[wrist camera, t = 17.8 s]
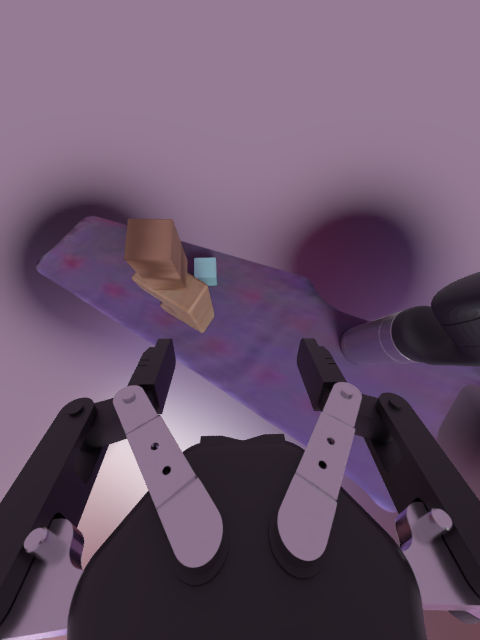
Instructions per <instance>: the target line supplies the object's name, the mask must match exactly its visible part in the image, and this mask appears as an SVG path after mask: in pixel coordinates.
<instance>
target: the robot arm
mask: <svg viewBox="0 0 480 640" xmlns="http://www.w3.org/2000/svg"><path fill="white" fill-rule="evenodd" d="M341 350H342V352H343V354H344V356H345V357H346V358H347V359H348V360H349V361H351V362H352V363H355V364H359V365H367V364H399V363H427V364H431V365H456V366H480V272H478V273H475V274H472V275H469V276H467V277H464V278H462V279H459V280H457V281H455V282H453V283H451V284H449V285H448V286H446V287H444V288H443V289H442V290H440V291H439V292H438V293H437V294H436V295H435V296H434V297H433V300H432V302H431V307H429V306H417V307H413V308H409V309H407V310H404V311H401V312H398V313H395V314H392V315H389V316H386V317H383V318H380V319H377V320H374V321H371V322H368V323H365V324H362V325H359V326H356V327H353V328H350V329H348V330H347V331H346V332H345V333H344V334H343V336H342V338H341ZM175 362H176V359H175V352H174V347H173V341H172V339H158V341H157V343H156V346H155V347H150V348H148V349H147V350H146V351H145V352H144V353H143V355H142V357H141V359H140V361H139V363H138V366H137V367H136V369H135V372H134V374H133V375H132V377H131V379H130V382H129V384H128V386H127V387H125V388H123V389H121V390H120V391H118V392H117V393H116V395H115V396H114V398H112V399H109V400H105V401H101V402H97V403H94V402H93V401H92V400H91V399H90V398H79V399H76V400H73V401H72V402H70V403H68V404H67V405H65V406H64V407H63V408H62V409H61V411H60V412H59V414H58V415H57V417H56V418H55V420H54V421H53V423H52V424H51V426H50V428H49V429H48V431H47V432H46V434H45V435H44V437H43V438H42V440H41V441H40V443H39V444H38V446H37V447H36V449H35V451H34V452H33V454H32V455H31V457H30V458H29V460H28V461H27V463H26V464H25V466H24V468H23V469H22V471H21V472H20V474H19V475H18V477H17V478H16V480H15V481H14V483H13V485H12V486H11V488H10V489H9V491H8V492H7V494H6V495H5V497H4V498H3V500H2V501H1V503H0V640H38V639H44V638H50V637H56V636H62V635H67V640H427V636H426V630H425V625H424V617H423V609H424V610H448V611H449V612H450V613H451V614H452V615H453V616H455V617H456V618H457V619H459V620H460V621H463V622H465V623H469V624H473V623H479V622H480V501H479V500H478V498H477V497H476V495H475V494H474V493H473V492H472V490H471V489H470V487H469V486H468V485H467V483H466V482H465V481H464V479H463V477H462V476H461V475H460V473H459V472H458V471H457V469H456V468H455V466H454V465H453V464H452V462H450V460H449V458H448V457H447V455H446V454H445V453H444V451H443V450H442V449H441V447H440V446H439V445H438V443H437V442H436V440H435V439H434V438H433V436H432V435H431V434H430V432H429V431H428V429H427V428H426V427H425V425H424V424H423V423H422V421H421V420H420V418H419V417H418V416H417V414H416V413H415V412H414V410H413V409H412V407H411V406H410V405H409V403H408V402H407V401H406V400H404V399H403V398H402V397H400V396H398V395H396V394H393V393H383V394H381V395H380V397H379V398H375V397H371V396H367V395H363V394H361V393H360V391H359V390H358V389H357V388H356V387H355V386H353V385H351V384H349V383H347V382H346V380H345V378H344V376H343V375H342V373H341V371H340V370H339V368H338V366H337V364H336V363H335V361H334V359H333V357H332V356H331V354H330V352H329V351H328V350H326V349H325V348H324V347H323V346H318V344H317V342H316V340H315V339H314V338H302V339H301V341H300V346H299V350H298V355H297V366H298V369H299V371H300V374H301V377H302V380H303V382H304V385H305V388H306V390H307V393H308V396H309V399H310V401H311V404H312V407H313V409H314V411H321V412H322V413H321V415H320V417H319V420H318V422H317V424H316V426H315V429H314V431H313V433H312V436H311V438H310V440H309V443H308V445H307V447H306V450H303V449H302V448H301V447H299V446H297V445H295V444H293V443H291V442H288V441H285V437H284V434H265V435H261V436H257V437H254V438H251V439H247V440H238V439H233V438H229V437H225V436H201V440H200V443H199V444H196V445H194V446H191V447H190V448H188V449H186V450H185V451H184V452H182V451H181V450H180V448H179V446H178V444H177V443H176V441H175V439H174V437H173V436H172V434H171V433H170V431H169V429H168V427H167V426H166V424H165V422H164V420H163V419H162V417H161V416H160V415H158V414H162V412H163V408H164V405H165V401H166V398H167V394H168V390H169V387H170V383H171V380H172V376H173V373H174V369H175ZM354 434H355V435H358V436H362V437H364V439H365V442H366V444H367V446H368V448H369V450H370V453H371V455H372V457H373V459H374V461H375V463H376V466H377V468H378V470H379V472H380V474H381V476H382V479H383V481H384V483H385V485H386V487H387V490H388V492H389V494H390V496H391V498H392V500H393V503H394V505H395V507H396V509H397V511H398V513H399V515H398V516H397V517H396V520H395V528H396V532H397V535H398V538H399V546H398V544H397V543H396V542H395V541H394V540H393V538H392V537H391V536H390V535H389V534H388V533H387V532H386V531H385V530H384V529H383V528H382V527H381V526H380V525H379V524H378V523H377V522H376V521H375V520H374V519H373V518H372V517H371V516H370V515H369V514H368V513H367V512H366V511H365V510H364V509H363V508H362V507H361V506H360V505H359V504H358V503H357V502H356V501H355V500H354V499H353V498H352V497H351V496H350V495H349V494H348V493H347V492H346V491H345V490H344V489H343V488H342V487H341V482H342V479H343V475H344V471H345V467H346V464H347V460H348V456H349V452H350V448H351V445H352V441H353V437H354ZM124 439H128V441H129V444H130V446H131V449H132V451H133V453H134V456H135V458H136V461H137V463H138V466H139V468H140V471H141V473H142V475H143V478H144V480H145V483H146V485H147V488H148V490H149V491H148V492H147V493H146V494H145V495H144V497H143V498H142V499H141V500H140V501H139V502H138V504H137V505H136V506H135V507H134V508H133V509H132V511H131V512H130V513H129V514H128V515H127V516H126V517H125V519H124V520H123V521H122V522H121V523H120V524H119V526H118V527H117V528H116V529H115V530H114V532H113V533H112V534H111V535H110V536H109V537H108V538H107V540H106V541H105V542H104V543H103V544H102V546H101V547H100V548H99V549H98V550H97V552H96V553H95V554H94V555H93V557H92V558H91V559H90V561H89V563H88V564H87V566H86V567H85V569H84V570H83V569H82V566H81V557H82V552H83V547H84V537H83V534H82V533H81V532H80V531H79V530H78V529H77V526H78V524H79V521H80V518H81V516H82V513H83V511H84V508H85V505H86V503H87V500H88V498H89V495H90V493H91V490H92V487H93V484H94V482H95V479H96V477H97V474H98V471H99V469H100V466H101V464H102V461H103V459H104V456H105V453H106V451H107V448H108V446H109V444H112V443H115V442H118V441H121V440H124Z"/></svg>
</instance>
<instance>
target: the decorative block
mask: <svg viewBox="0 0 480 640" xmlns="http://www.w3.org/2000/svg"><path fill="white" fill-rule="evenodd" d="M132 280H133V281H134V282H135V283H137V284H138V285H139V286H140V287H141V288H142V289H143V290H145V291H146V292H148V293H150V294H151V295H153V296H154V297H156V298H157V299H159V300H160V301H161V302H162V303H161V304H160V306H161V307H162V308H163V309H164V310H165V311H166V312H168V313H170V314H171V315H173V316H175V317H176V318H178V319H180V320H181V321H183V322H184V323H186V324H188V325H189V326H191V327H193V328H194V329H196V330H198V331H199V332H201V333H204V332H205V330H206V328H207V327H208V325H209V324H210V322H211V321H212V319H213V318H214V316H215V315H214V311H213V307H212V302H211V298H210V294H209V290H208V286H207V284H206V283H204V282H203V281H201V280H199V279H198V278H196V277H194V276H192V275H191V274H189V273H187V290H153V289H152V288H151V287H150V286H149V285H148V284H147V283H146V282H145V281H144V280H143V278H142V277H141V276H140V275H139V274H138V273H137V272H135V273H134V274H133V276H132Z"/></svg>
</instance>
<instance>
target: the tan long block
mask: <svg viewBox="0 0 480 640" xmlns="http://www.w3.org/2000/svg"><path fill="white" fill-rule="evenodd" d="M124 259H125V260H126V261H127V262H128V263H129V265H130V266H131V267H132V268H133V269H134V270H135V271H136V272H137V273H138V274H139V275H140V276H141V277H142V278H143V280H144V281H145V282H146V283H147V284H148V285H149V286H150V287H151V288H152V289H153V290H187V258H186V255H185V252H184V250H183V247H182V244H181V241H180V239H179V236H178V233H177V231H176V228H175V225H174V222H173V220H172V219H170V220H169V219H128V225H127V235H126V246H125V256H124Z"/></svg>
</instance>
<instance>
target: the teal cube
mask: <svg viewBox="0 0 480 640" xmlns="http://www.w3.org/2000/svg"><path fill="white" fill-rule="evenodd" d="M194 277H196V278H198V279H199V280H201V281H203V282H204V283H206V284H207V286H212V285H217V266H216V258H194Z"/></svg>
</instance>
